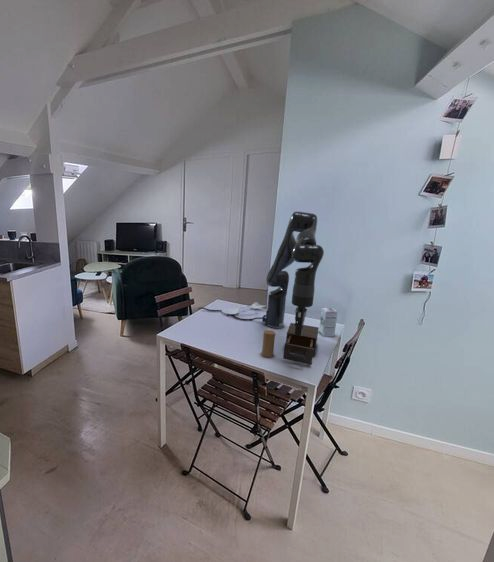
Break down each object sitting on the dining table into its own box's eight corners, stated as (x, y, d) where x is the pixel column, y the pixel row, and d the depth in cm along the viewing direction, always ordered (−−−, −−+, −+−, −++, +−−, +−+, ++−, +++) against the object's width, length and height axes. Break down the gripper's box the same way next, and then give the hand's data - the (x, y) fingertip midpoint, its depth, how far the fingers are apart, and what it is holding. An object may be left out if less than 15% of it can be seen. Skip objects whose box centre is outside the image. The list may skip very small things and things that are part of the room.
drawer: (310, 369, 137) (312, 353, 135) (281, 362, 143) (283, 347, 141) (313, 352, 151) (315, 337, 149) (287, 347, 157) (288, 333, 155)
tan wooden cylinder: (260, 355, 152) (262, 333, 149) (262, 351, 156) (264, 329, 153) (272, 358, 149) (274, 335, 146) (273, 353, 153) (276, 331, 150)
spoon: (266, 309, 211) (266, 304, 210) (227, 317, 201) (227, 312, 200) (256, 305, 219) (256, 301, 218) (218, 313, 209) (218, 308, 208)
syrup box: (334, 336, 168) (338, 311, 165) (322, 336, 170) (326, 311, 166) (330, 332, 174) (333, 307, 170) (318, 331, 175) (321, 307, 171)
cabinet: (314, 356, 149) (316, 338, 146) (284, 350, 156) (286, 332, 153) (316, 344, 160) (318, 327, 158) (288, 339, 167) (290, 322, 165)
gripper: (294, 288, 135) (291, 323, 139) (290, 297, 123) (286, 335, 127) (315, 290, 130) (310, 326, 134) (312, 299, 119) (307, 339, 123)
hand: (298, 331), depth 131 cm, fingers open, 7 cm apart
